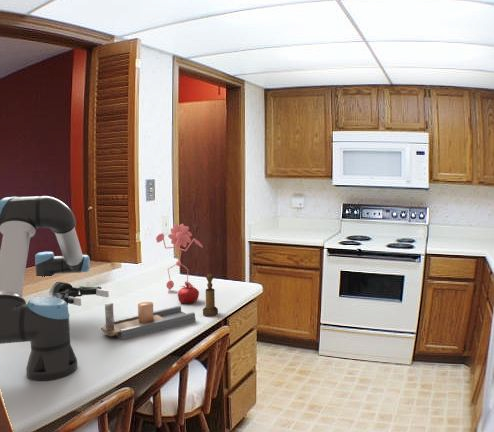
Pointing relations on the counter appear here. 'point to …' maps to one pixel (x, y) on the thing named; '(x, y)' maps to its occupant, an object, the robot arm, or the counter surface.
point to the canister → (145, 312)
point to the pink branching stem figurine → (178, 245)
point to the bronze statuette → (210, 299)
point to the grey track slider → (115, 328)
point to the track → (156, 322)
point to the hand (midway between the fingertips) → (94, 297)
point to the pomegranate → (188, 294)
